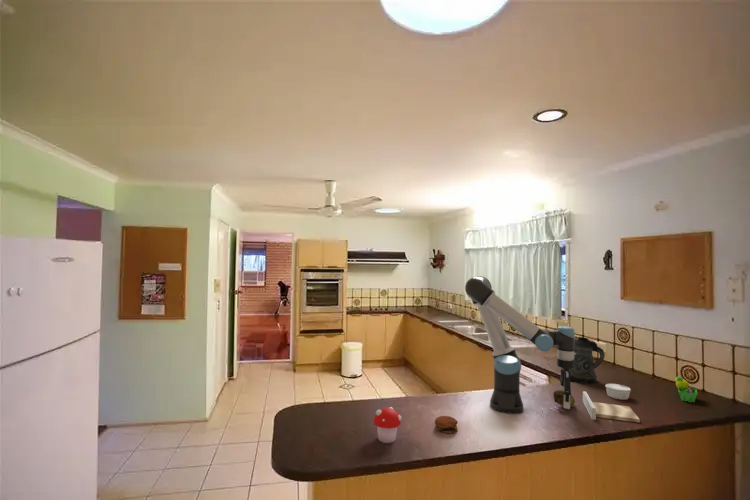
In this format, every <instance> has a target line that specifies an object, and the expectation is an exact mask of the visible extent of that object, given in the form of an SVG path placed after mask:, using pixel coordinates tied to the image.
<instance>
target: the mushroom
mask: <svg viewBox="0 0 750 500" xmlns="http://www.w3.org/2000/svg"><path fill="white" fill-rule="evenodd" d="M401 421H402V415H400V414H399V413H398V412H397V411H396V410H395V409H394V408H393V407H392V406H389V407H383V408H381V409H377V410H376V411H375V415H374V417H373V425H374V426H376V427H377V428H376V430H377V432H376V433H377V439H378V441H379V442H381V443H384V444H392V443H394V442H395V441H396V439H397V431H398V427H400V426H401V425H402V423H401Z"/></svg>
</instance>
